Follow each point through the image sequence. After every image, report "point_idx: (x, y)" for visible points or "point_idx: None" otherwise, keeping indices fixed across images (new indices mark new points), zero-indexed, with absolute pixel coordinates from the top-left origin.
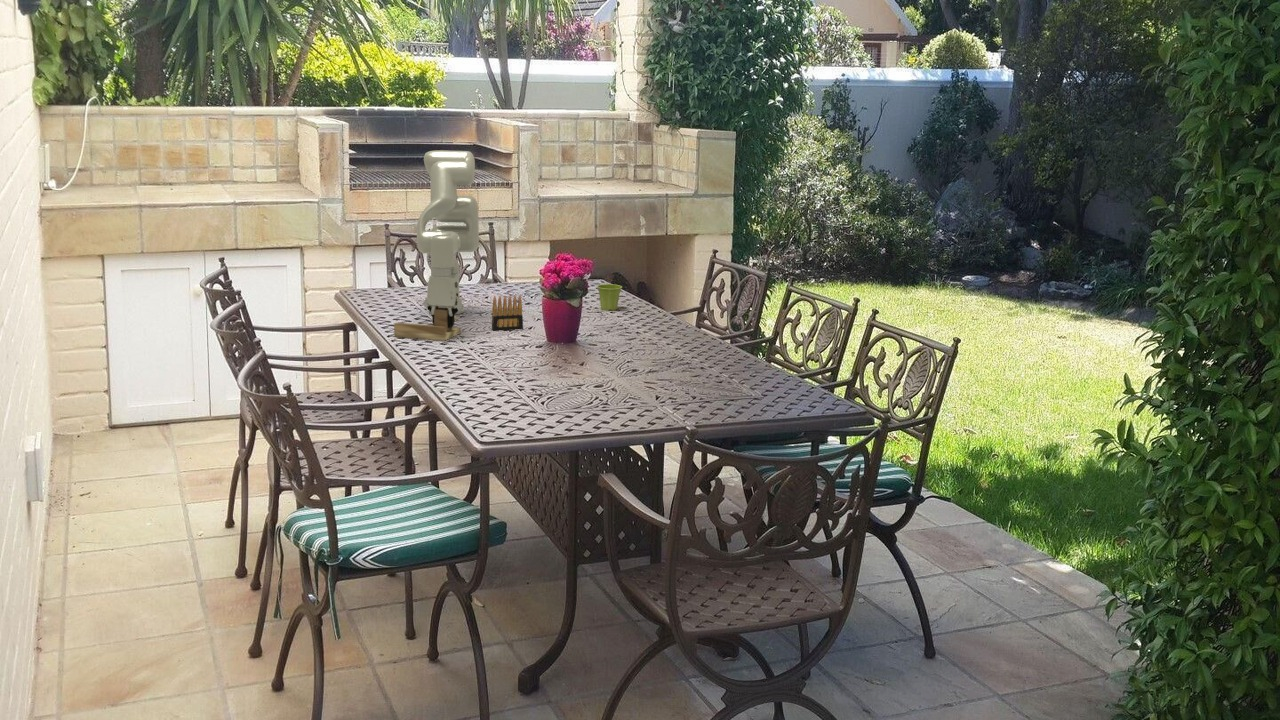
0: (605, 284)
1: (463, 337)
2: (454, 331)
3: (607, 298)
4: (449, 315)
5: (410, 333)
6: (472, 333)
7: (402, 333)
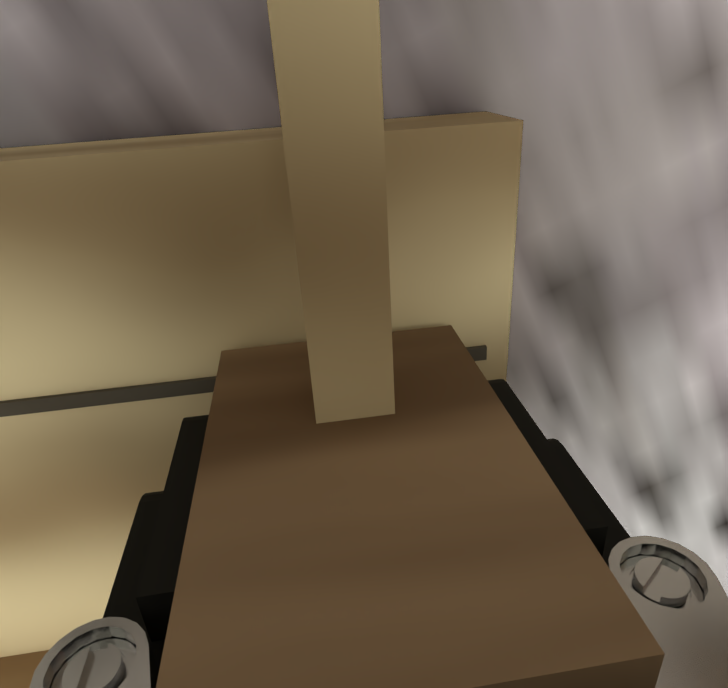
0: None
1: (604, 322)
2: (501, 360)
3: None
4: None
5: None
6: (660, 2)
7: None
